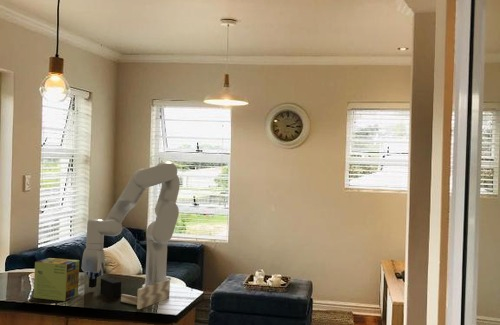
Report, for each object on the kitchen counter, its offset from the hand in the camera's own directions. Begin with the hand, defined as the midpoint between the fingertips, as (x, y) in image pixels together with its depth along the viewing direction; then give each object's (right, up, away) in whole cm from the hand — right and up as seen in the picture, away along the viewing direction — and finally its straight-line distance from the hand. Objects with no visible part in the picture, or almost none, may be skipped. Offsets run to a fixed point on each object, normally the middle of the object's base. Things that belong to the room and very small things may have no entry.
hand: (92, 286), depth 232 cm
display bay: (+25, -3, -12) cm, 27 cm away
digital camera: (+10, -3, -5) cm, 12 cm away
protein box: (-13, -2, -10) cm, 16 cm away
